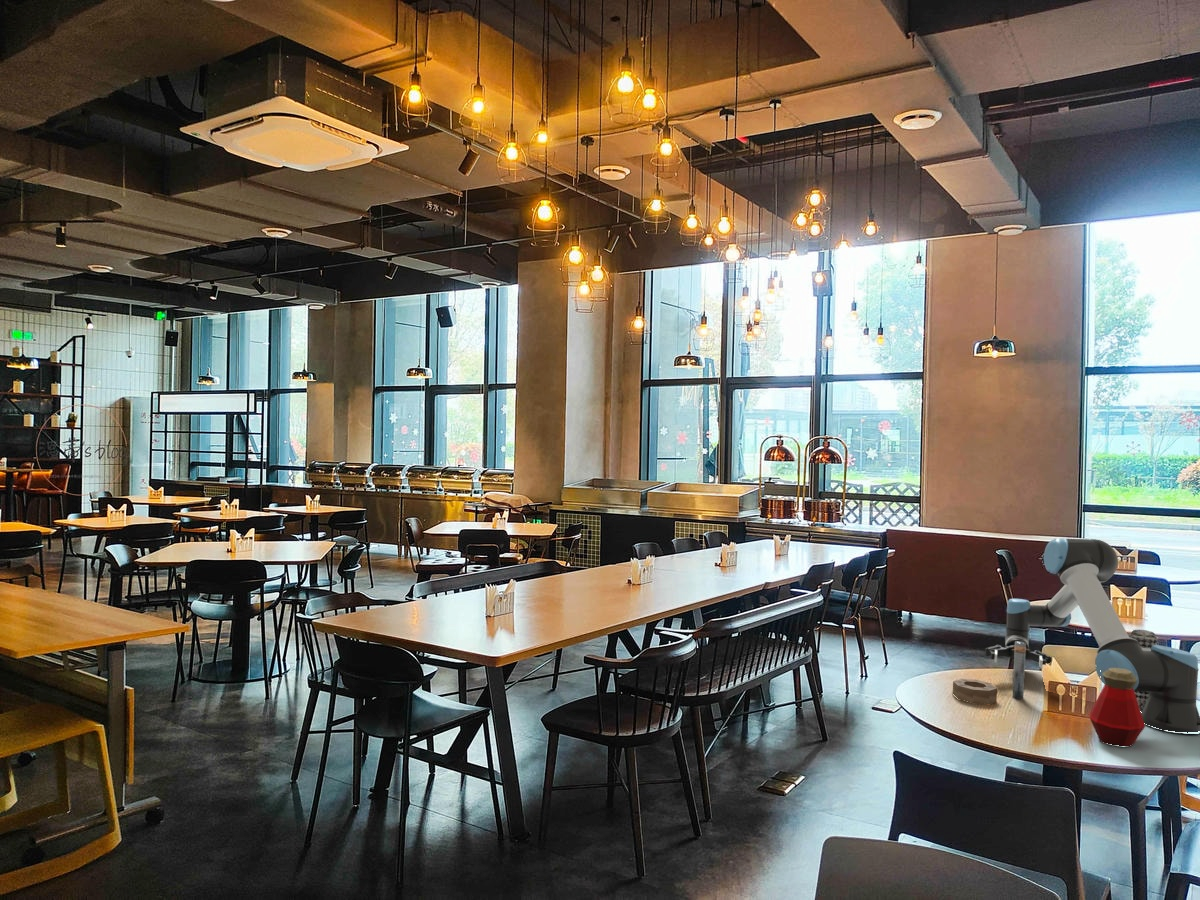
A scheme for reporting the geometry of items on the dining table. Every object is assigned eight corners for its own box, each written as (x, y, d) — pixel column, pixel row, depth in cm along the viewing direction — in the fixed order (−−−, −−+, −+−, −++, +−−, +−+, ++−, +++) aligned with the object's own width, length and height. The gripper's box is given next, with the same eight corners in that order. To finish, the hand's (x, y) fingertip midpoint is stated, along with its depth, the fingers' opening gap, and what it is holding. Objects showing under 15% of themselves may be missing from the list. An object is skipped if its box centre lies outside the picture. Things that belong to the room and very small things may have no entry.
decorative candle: (1147, 706, 268) (1150, 628, 268) (1163, 715, 259) (1167, 635, 259) (1116, 704, 269) (1120, 627, 269) (1132, 713, 260) (1136, 633, 260)
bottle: (1092, 728, 245) (1096, 660, 245) (1147, 740, 236) (1151, 669, 236) (1082, 742, 233) (1086, 670, 232) (1140, 755, 224) (1143, 681, 224)
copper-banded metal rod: (1025, 699, 271) (1027, 644, 270) (1014, 698, 271) (1017, 643, 271) (1021, 696, 274) (1023, 641, 274) (1010, 695, 274) (1013, 641, 274)
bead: (1000, 705, 263) (1001, 691, 263) (961, 702, 265) (961, 688, 264) (986, 693, 275) (987, 680, 275) (949, 691, 277) (949, 677, 276)
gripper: (1056, 663, 294) (1060, 678, 275) (978, 653, 305) (976, 666, 285) (1057, 642, 294) (1061, 655, 275) (979, 632, 304) (977, 644, 285)
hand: (1018, 661), depth 280 cm, fingers open, 13 cm apart
